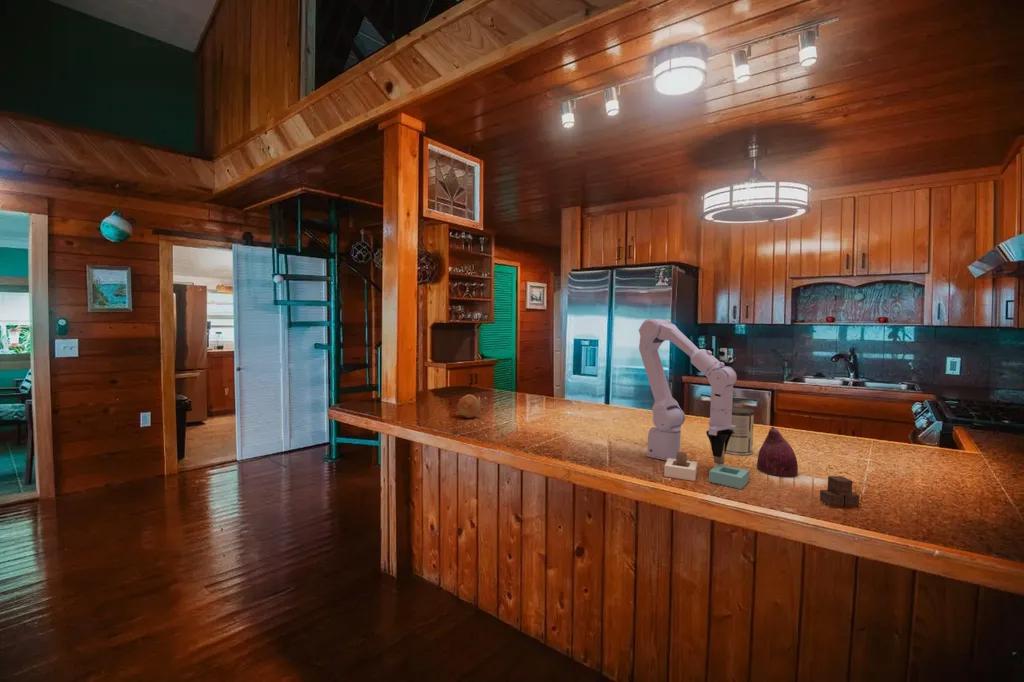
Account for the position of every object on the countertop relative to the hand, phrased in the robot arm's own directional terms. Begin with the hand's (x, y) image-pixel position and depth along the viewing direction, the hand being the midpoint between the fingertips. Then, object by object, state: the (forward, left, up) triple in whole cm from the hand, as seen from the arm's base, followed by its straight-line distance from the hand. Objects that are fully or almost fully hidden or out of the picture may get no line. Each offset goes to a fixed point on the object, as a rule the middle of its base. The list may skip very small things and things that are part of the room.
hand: (718, 455), depth 136 cm
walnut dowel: (-7, -11, -5) cm, 14 cm away
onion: (-102, -1, -5) cm, 102 cm away
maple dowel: (0, 0, -2) cm, 2 cm away
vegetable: (+13, +11, -5) cm, 18 cm away
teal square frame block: (+5, -8, -5) cm, 10 cm away
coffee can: (-2, +25, -5) cm, 26 cm away
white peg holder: (-7, -11, -5) cm, 14 cm away
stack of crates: (+28, -5, -5) cm, 29 cm away
